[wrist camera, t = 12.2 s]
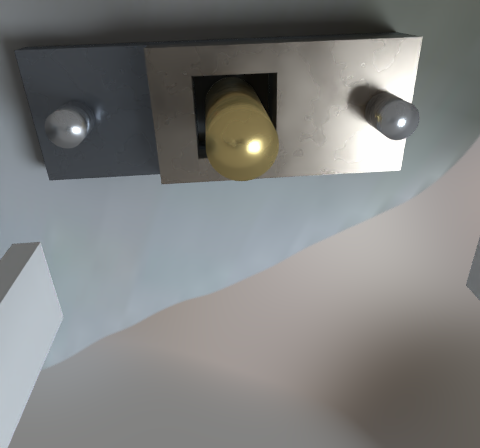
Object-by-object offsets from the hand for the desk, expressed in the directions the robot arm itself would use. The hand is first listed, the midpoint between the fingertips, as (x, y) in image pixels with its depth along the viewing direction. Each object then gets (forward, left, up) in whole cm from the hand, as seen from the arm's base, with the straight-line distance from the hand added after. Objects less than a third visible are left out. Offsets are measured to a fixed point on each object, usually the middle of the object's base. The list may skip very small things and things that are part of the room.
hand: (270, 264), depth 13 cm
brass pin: (0, 0, -22) cm, 21 cm away
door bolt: (0, 0, -21) cm, 21 cm away
